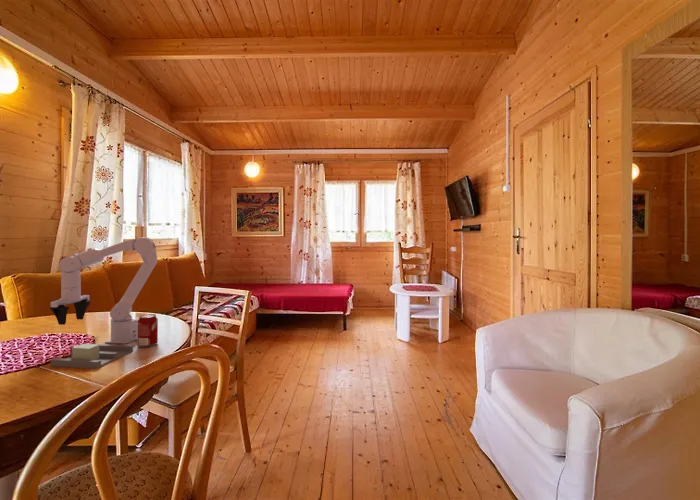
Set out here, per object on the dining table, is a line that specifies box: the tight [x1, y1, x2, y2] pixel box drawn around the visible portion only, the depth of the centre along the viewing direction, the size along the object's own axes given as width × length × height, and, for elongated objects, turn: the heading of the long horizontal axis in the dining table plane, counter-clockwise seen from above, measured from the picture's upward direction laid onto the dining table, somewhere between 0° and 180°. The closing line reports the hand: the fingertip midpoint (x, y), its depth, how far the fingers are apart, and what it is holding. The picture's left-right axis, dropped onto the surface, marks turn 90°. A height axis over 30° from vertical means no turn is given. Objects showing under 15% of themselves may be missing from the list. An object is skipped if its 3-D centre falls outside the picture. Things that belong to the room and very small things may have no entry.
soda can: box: [137, 313, 159, 348], centre depth 127 cm, size 7×7×12 cm
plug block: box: [71, 343, 99, 360], centre depth 109 cm, size 6×4×5 cm, turn 88°
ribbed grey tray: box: [50, 343, 134, 369], centre depth 112 cm, size 16×16×2 cm
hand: (71, 321), depth 124 cm, fingers open, 7 cm apart
